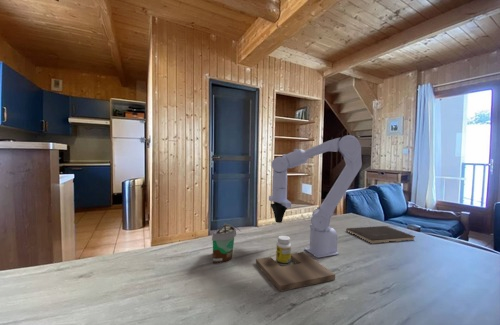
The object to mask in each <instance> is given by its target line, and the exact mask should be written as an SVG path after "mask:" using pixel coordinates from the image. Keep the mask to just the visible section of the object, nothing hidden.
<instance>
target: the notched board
mask: <svg viewBox="0 0 500 325" xmlns="http://www.w3.org/2000/svg"><path fill="white" fill-rule="evenodd" d="M291 261H292V262H293V263H294V264H293V263H292V264H289V265H287V266H282V265H279V264H278V263H277V262H276V259H274V258H273V257H272V256H267V257H261V258H256V259H255V265H256V266H257V267H258V268H259V269H260V270H261V271H262V273H263V274H264V275H265V276H266V278H268V280H269V281H270V283H272V284H273V286H274V287H275V288H276V289H277V290H278V291H279V292H283V291H287V290H288V291H289V290H292V289H298V288H302V287H306V286H311V285H315V284H322V283H324V282H330V281H335V280H336V273H335V272H333V271H331V270H330V269H328V268H327V267H326V266H324V265H322V264H321V263H320V262H318V261H317V260H316V259H313V258H312V257H311V256H310V255H308V254H306V252H304V251H300V252H295V253H291Z"/></svg>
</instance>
